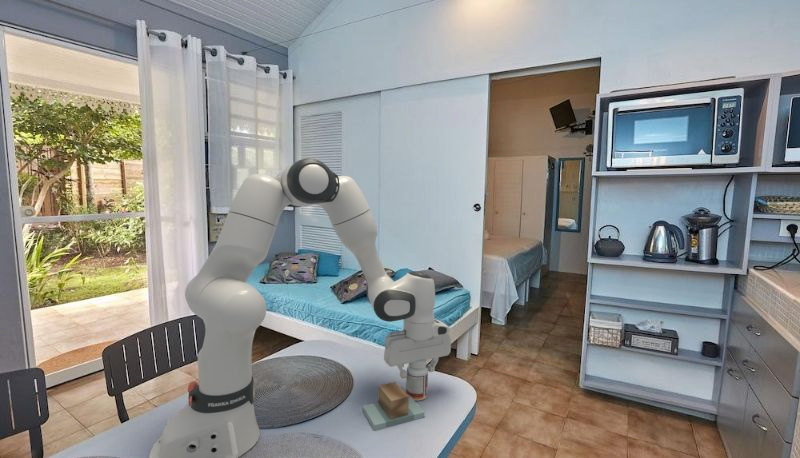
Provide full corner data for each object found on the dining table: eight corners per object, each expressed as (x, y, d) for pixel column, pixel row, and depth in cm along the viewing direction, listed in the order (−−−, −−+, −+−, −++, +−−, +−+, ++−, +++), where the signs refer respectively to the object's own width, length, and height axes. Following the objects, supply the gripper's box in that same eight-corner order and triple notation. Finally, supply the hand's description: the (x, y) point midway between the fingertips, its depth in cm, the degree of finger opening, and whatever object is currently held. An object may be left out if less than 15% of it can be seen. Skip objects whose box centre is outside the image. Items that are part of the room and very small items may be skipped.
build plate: (374, 430, 92) (374, 425, 92) (362, 410, 100) (362, 405, 100) (424, 417, 98) (424, 412, 97) (409, 399, 106) (409, 394, 106)
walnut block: (390, 419, 94) (391, 400, 93) (378, 403, 101) (378, 385, 101) (408, 414, 96) (408, 396, 96) (394, 398, 103) (395, 381, 103)
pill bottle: (417, 387, 112) (418, 351, 111) (431, 396, 107) (432, 359, 106) (401, 394, 108) (402, 357, 107) (415, 404, 104) (416, 365, 102)
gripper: (389, 337, 99) (388, 386, 100) (454, 326, 107) (452, 372, 109) (380, 329, 104) (380, 376, 106) (443, 319, 113) (441, 363, 115)
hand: (417, 374), depth 107 cm, fingers open, 8 cm apart
